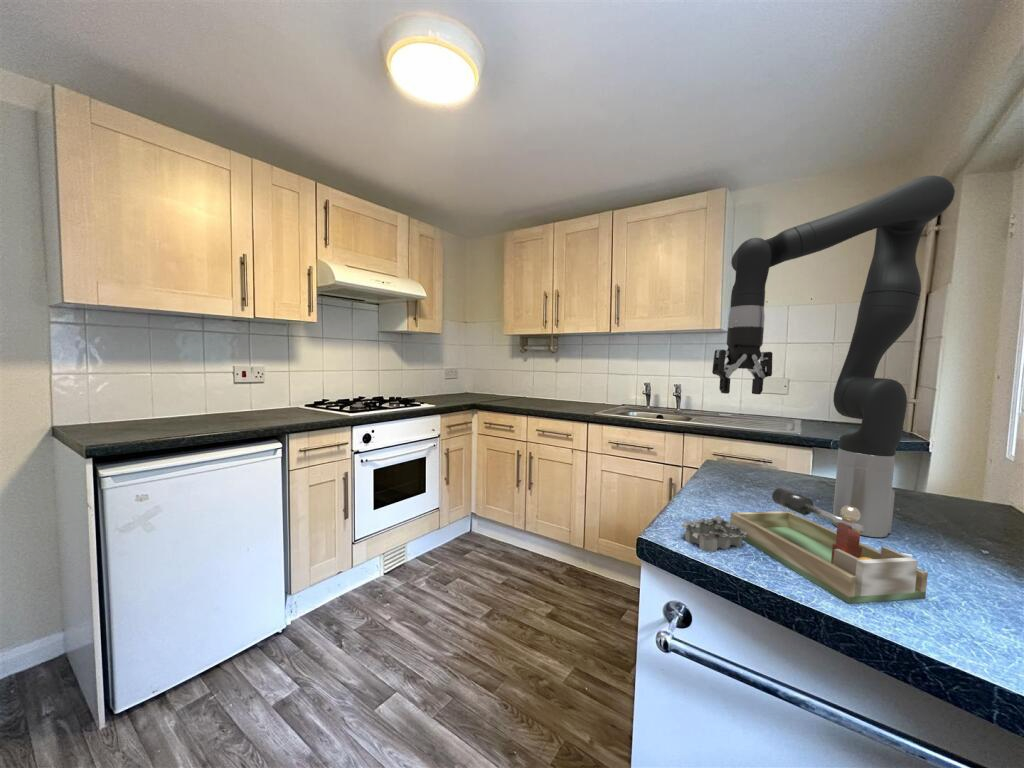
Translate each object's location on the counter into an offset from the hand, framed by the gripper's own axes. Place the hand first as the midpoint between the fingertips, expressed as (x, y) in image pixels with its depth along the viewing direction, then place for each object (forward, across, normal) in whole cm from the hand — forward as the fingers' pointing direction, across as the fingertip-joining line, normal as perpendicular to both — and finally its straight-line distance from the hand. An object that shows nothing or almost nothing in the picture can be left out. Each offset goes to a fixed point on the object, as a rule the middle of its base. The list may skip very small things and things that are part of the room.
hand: (740, 393), depth 96 cm
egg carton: (+29, +18, +17) cm, 38 cm away
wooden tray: (+28, +4, +26) cm, 38 cm away
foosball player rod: (+27, +4, +25) cm, 37 cm away
